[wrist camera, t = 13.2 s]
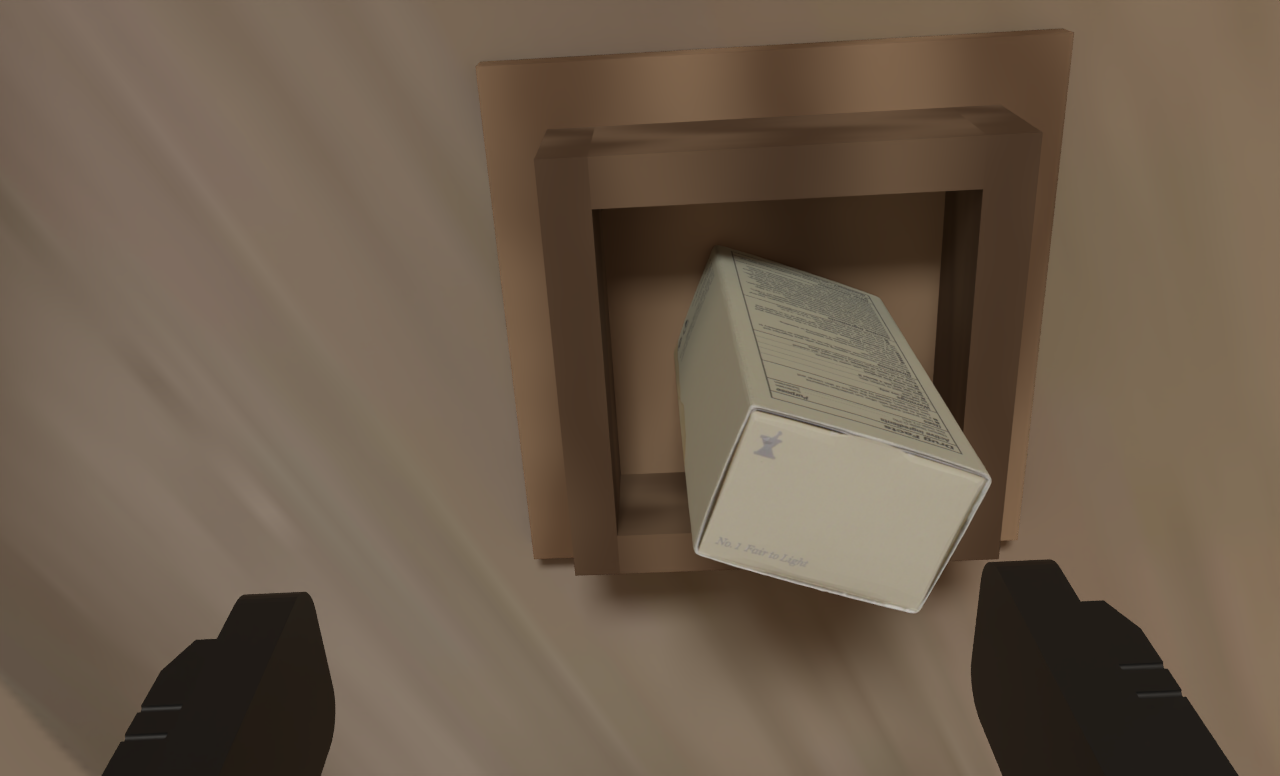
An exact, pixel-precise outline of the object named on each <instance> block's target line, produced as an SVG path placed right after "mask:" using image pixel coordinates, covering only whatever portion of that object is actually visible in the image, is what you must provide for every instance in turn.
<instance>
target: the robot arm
mask: <svg viewBox="0 0 1280 776" xmlns="http://www.w3.org/2000/svg"><path fill="white" fill-rule="evenodd" d="M971 681H972V691H973V697H974V702H975V706H976V710H977V714H978V717H979V719H980V722H981V724H982V727H983V729H984V732H985V734H986V737H987V739H988V741H989V744H990V746H991V749H992V751H993V754H994V756H995V759H996V761H997V763H998V766H999V768H1000V771H1001V773H1002V776H1238V774H1237V773H1236V771H1235V770H1234V768H1233V767H1232V765H1231V764H1230V762H1229V760H1228V759H1227V757H1226V756H1225V754H1224V753H1223V751H1222V750H1221V748H1220V747H1219V745H1218V744H1217V742H1216V741H1215V739H1214V738H1213V736H1212V735H1211V733H1210V732H1209V730H1208V729H1207V727H1206V726H1205V724H1204V723H1203V721H1202V720H1201V718H1200V717H1199V715H1198V714H1197V712H1196V711H1195V709H1194V708H1193V706H1192V705H1191V703H1190V702H1189V700H1188V699H1187V697H1183V696H1182V693H1181V688H1180V687H1179V685H1178V684H1177V682H1176V681H1175V679H1174V678H1173V676H1172V675H1171V673H1170V672H1169V670H1168V669H1164V667H1163V661H1162V660H1161V658H1160V657H1159V655H1158V654H1157V652H1156V651H1155V649H1154V648H1153V646H1152V645H1151V643H1150V642H1149V640H1148V639H1147V637H1146V636H1145V634H1144V633H1143V631H1142V630H1141V628H1139V627H1138V626H1137V625H1135V624H1134V623H1133V622H1131V621H1130V620H1129V619H1127V618H1126V617H1125V616H1123V615H1122V614H1121V613H1119V612H1118V611H1117V610H1115V609H1114V608H1113V607H1112V606H1110V605H1109V604H1108V603H1106V602H1105V601H1082V602H1080V600H1079V598H1078V597H1077V595H1076V593H1075V592H1074V590H1073V588H1072V587H1071V585H1070V583H1069V582H1068V580H1067V579H1066V577H1065V575H1064V574H1063V572H1062V570H1061V569H1060V567H1059V566H1058V564H1057V563H1056V562H1055V561H1053V560H1027V561H1005V562H988V563H987V564H986V565H985V566H984V569H983V572H982V577H981V584H980V592H979V601H978V609H977V618H976V627H975V635H974V644H973V652H972V661H971ZM141 707H142V710H141V713H137V714H136V716H135V718H134V719H133V721H132V723H131V725H130V726H129V728H128V730H127V732H126V734H125V741H124V742H120V744H119V746H118V748H117V749H116V751H115V753H114V755H113V756H112V758H111V760H110V762H109V763H108V765H107V767H106V769H105V771H104V772H103V774H102V776H321V773H322V770H323V767H324V764H325V761H326V758H327V755H328V752H329V749H330V746H331V742H332V738H333V733H334V725H335V696H334V689H333V685H332V680H331V676H330V671H329V667H328V663H327V658H326V654H325V650H324V645H323V641H322V636H321V632H320V628H319V623H318V619H317V614H316V610H315V606H314V603H313V600H312V598H311V596H310V595H309V594H308V593H307V592H291V593H269V594H248V595H242V596H241V597H240V598H239V599H238V600H237V602H236V603H235V605H234V607H233V609H232V611H231V613H230V615H229V617H228V618H227V620H226V622H225V624H224V626H223V628H222V630H221V632H220V634H219V636H218V638H217V639H205V640H195V641H194V642H193V643H192V644H191V645H190V646H188V647H187V648H186V649H185V650H184V651H183V652H182V653H181V654H179V655H178V656H177V657H176V658H175V659H174V660H173V661H172V662H171V663H169V664H168V665H167V666H166V667H165V668H164V669H163V670H162V671H161V672H160V674H159V675H158V677H157V679H156V681H155V682H154V684H153V686H152V688H151V689H150V691H149V693H148V695H147V697H146V698H145V700H144V702H143V704H142V705H141Z"/></svg>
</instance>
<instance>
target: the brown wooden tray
mask: <svg viewBox="0 0 1280 776" xmlns="http://www.w3.org/2000/svg"><path fill="white" fill-rule="evenodd" d="M1073 38H1074V33H1073V32H1071V31H1068V30H1065V29H1046V30H1029V31H1011V32H994V33H976V34H959V35H941V36H924V37H906V38H889V39H871V40H854V41H836V42H819V43H801V44H784V45H766V46H749V47H731V48H714V49H696V50H679V51H661V52H644V53H626V54H609V55H591V56H574V57H556V58H539V59H521V60H504V61H486V62H480V63H479V64H478V65H477V66H476V75H477V84H478V92H479V100H480V109H481V117H482V126H483V134H484V142H485V151H486V159H487V168H488V176H489V184H490V193H491V201H492V209H493V218H494V226H495V235H496V243H497V251H498V260H499V268H500V277H501V285H502V293H503V302H504V310H505V319H506V327H507V335H508V344H509V352H510V361H511V369H512V377H513V386H514V394H515V402H516V411H517V419H518V428H519V436H520V444H521V453H522V461H523V470H524V478H525V486H526V495H527V503H528V512H529V520H530V528H531V537H532V545H533V553H534V559H550V558H574V567H575V576H578V575H604V574H629V573H655V572H681V571H706V570H732V569H741V568H737V567H734V566H731V565H728V564H725V563H722V562H718V561H715V560H712V559H709V558H706V557H702V556H700V555H697V554H696V553H695V552H694V548H693V541H692V532H691V522H690V514H689V506H688V494H687V485H686V476H685V466H684V458H683V447H682V436H681V426H680V415H679V404H678V392H677V383H676V371H675V360H674V351H675V348H676V345H677V342H678V339H679V336H680V333H681V330H682V327H683V324H684V321H685V318H686V316H687V313H688V310H689V307H690V305H691V303H692V300H693V297H694V294H695V292H696V289H697V286H698V284H699V281H700V279H701V276H702V274H703V271H704V269H705V266H706V264H707V261H708V259H709V256H710V254H711V251H712V249H713V247H714V246H716V245H720V246H725V247H728V248H731V249H734V250H738V251H741V252H745V253H748V254H752V255H755V256H758V257H761V258H764V259H767V260H771V261H774V262H777V263H780V264H783V265H786V266H789V267H792V268H795V269H798V270H802V271H805V272H808V273H811V274H813V275H816V276H820V277H823V278H826V279H829V280H832V281H835V282H838V283H841V284H843V285H846V286H849V287H852V288H855V289H857V290H860V291H863V292H866V293H869V294H872V295H874V296H877V297H879V298H880V299H881V300H882V302H883V304H884V305H885V307H886V308H887V310H888V312H889V313H890V315H891V317H892V318H893V320H894V321H895V323H896V325H897V326H898V328H899V329H900V331H901V333H902V334H903V336H904V337H905V339H906V341H907V343H908V344H909V346H910V347H911V349H912V351H913V352H914V354H915V356H916V357H917V359H918V360H919V362H920V364H921V365H922V367H923V368H924V370H925V372H926V373H927V375H928V376H929V378H930V380H931V381H932V383H933V385H934V386H935V388H936V389H937V391H938V393H939V394H940V396H941V398H942V399H943V401H944V402H945V404H946V406H947V407H948V409H949V411H950V412H951V414H952V415H953V417H954V419H955V420H956V422H957V424H958V425H959V427H960V429H961V430H962V432H963V433H964V435H965V437H966V438H967V440H968V441H969V443H970V445H971V446H972V448H973V449H974V451H975V453H976V454H977V456H978V457H979V459H980V460H981V462H982V464H983V465H984V467H985V469H986V470H987V472H988V474H989V475H990V477H991V480H992V482H991V485H990V487H989V489H988V491H987V493H986V495H985V497H984V498H983V500H982V502H981V504H980V505H979V507H978V509H977V511H976V513H975V515H974V517H973V518H972V520H971V522H970V524H969V526H968V528H967V530H966V531H965V533H964V535H963V537H962V538H961V540H960V542H959V543H958V545H957V547H956V549H955V551H954V553H953V554H952V556H951V558H950V560H949V561H962V560H988V559H999V550H1000V541H1003V540H1017V539H1018V530H1019V521H1020V512H1021V503H1022V494H1023V485H1024V476H1025V467H1026V458H1027V449H1028V440H1029V431H1030V422H1031V413H1032V404H1033V396H1034V387H1035V378H1036V369H1037V360H1038V351H1039V342H1040V333H1041V324H1042V315H1043V306H1044V297H1045V288H1046V279H1047V270H1048V262H1049V253H1050V244H1051V235H1052V226H1053V217H1054V208H1055V199H1056V190H1057V181H1058V172H1059V163H1060V154H1061V145H1062V136H1063V127H1064V119H1065V110H1066V101H1067V92H1068V83H1069V74H1070V65H1071V56H1072V47H1073Z"/></svg>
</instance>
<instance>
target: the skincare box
mask: <svg viewBox="0 0 1280 776" xmlns="http://www.w3.org/2000/svg"><path fill="white" fill-rule="evenodd" d="M674 360H675V371H676V383H677V392H678V404H679V415H680V426H681V436H682V447H683V458H684V466H685V476H686V485H687V494H688V506H689V514H690V522H691V532H692V541H693V548H694V552H695V553H696V554H697V555H700V556H702V557H706V558H709V559H712V560H715V561H718V562H722V563H725V564H728V565H731V566H734V567H737V568H741V569H744V570H749V571H752V572H755V573H758V574H762V575H766V576H770V577H773V578H777V579H780V580H784V581H787V582H791V583H794V584H798V585H803V586H807V587H811V588H814V589H818V590H820V591H826V592H829V593H833V594H837V595H840V596H844V597H848V598H851V599H855V600H860V601H864V602H868V603H872V604H875V605H879V606H884V607H887V608H891V609H895V610H899V611H904V612H908V613H914V614H915V613H917V612H919V611H920V609H921V608H922V606H923V605H924V603H925V601H926V600H927V598H928V596H929V594H930V592H931V591H932V589H933V587H934V586H935V584H936V582H937V580H938V579H939V577H940V575H941V574H942V572H943V570H944V568H945V566H946V565H947V563H948V561H949V560H950V558H951V556H952V554H953V553H954V551H955V549H956V547H957V545H958V543H959V542H960V540H961V538H962V537H963V535H964V533H965V531H966V530H967V528H968V526H969V524H970V522H971V520H972V518H973V517H974V515H975V513H976V511H977V509H978V507H979V505H980V504H981V502H982V500H983V498H984V497H985V495H986V493H987V491H988V489H989V487H990V485H991V482H992V480H991V477H990V475H989V474H988V472H987V470H986V469H985V467H984V465H983V464H982V462H981V460H980V459H979V457H978V456H977V454H976V453H975V451H974V449H973V448H972V446H971V445H970V443H969V441H968V440H967V438H966V437H965V435H964V433H963V432H962V430H961V429H960V427H959V425H958V424H957V422H956V420H955V419H954V417H953V415H952V414H951V412H950V411H949V409H948V407H947V406H946V404H945V402H944V401H943V399H942V398H941V396H940V394H939V393H938V391H937V389H936V388H935V386H934V385H933V383H932V381H931V380H930V378H929V376H928V375H927V373H926V372H925V370H924V368H923V367H922V365H921V364H920V362H919V360H918V359H917V357H916V356H915V354H914V352H913V351H912V349H911V347H910V346H909V344H908V343H907V341H906V339H905V337H904V336H903V334H902V333H901V331H900V329H899V328H898V326H897V325H896V323H895V321H894V320H893V318H892V317H891V315H890V313H889V312H888V310H887V308H886V307H885V305H884V304H883V302H882V300H881V299H880V298H879V297H877V296H874V295H872V294H869V293H866V292H863V291H860V290H857V289H855V288H852V287H849V286H846V285H843V284H841V283H838V282H835V281H832V280H829V279H826V278H823V277H820V276H816V275H813V274H811V273H808V272H805V271H802V270H798V269H795V268H792V267H789V266H786V265H783V264H780V263H777V262H774V261H771V260H767V259H764V258H761V257H758V256H755V255H752V254H748V253H745V252H741V251H738V250H734V249H731V248H728V247H725V246H720V245H716V246H714V247H713V249H712V251H711V254H710V256H709V259H708V261H707V264H706V266H705V269H704V271H703V274H702V276H701V279H700V281H699V284H698V286H697V289H696V292H695V294H694V297H693V300H692V303H691V305H690V307H689V310H688V313H687V316H686V318H685V321H684V324H683V327H682V330H681V333H680V336H679V339H678V342H677V345H676V348H675V351H674Z"/></svg>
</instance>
